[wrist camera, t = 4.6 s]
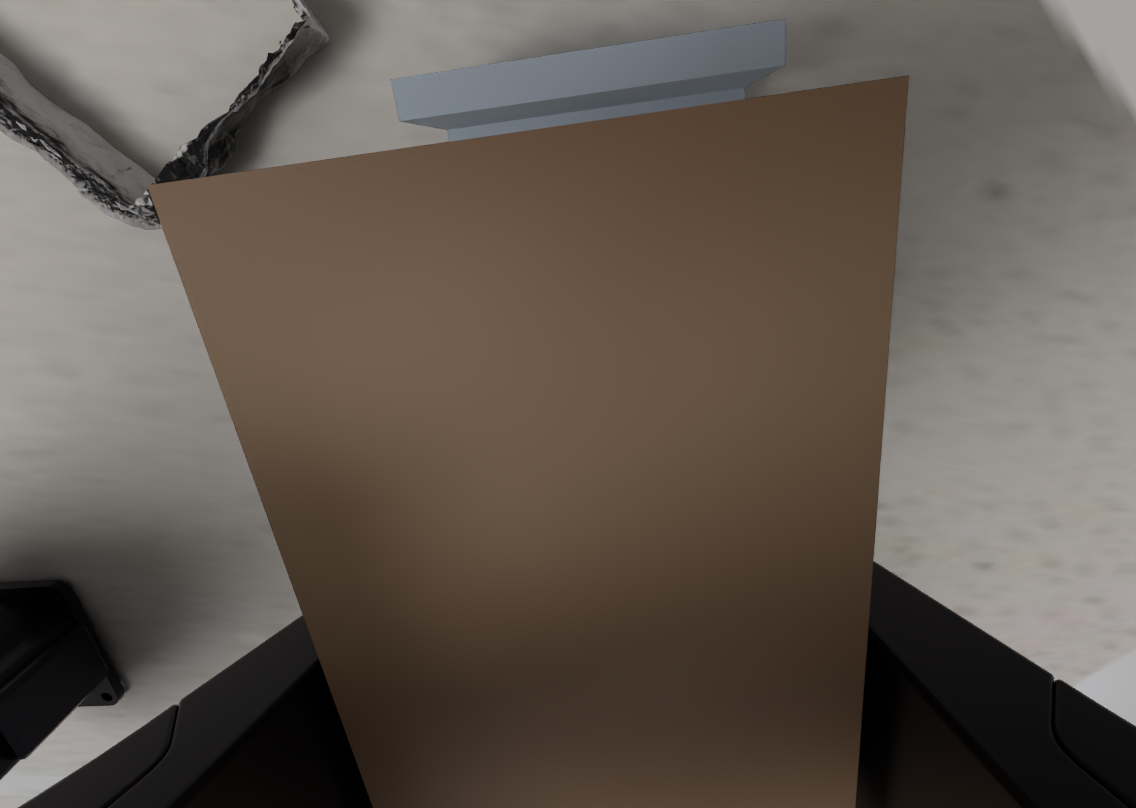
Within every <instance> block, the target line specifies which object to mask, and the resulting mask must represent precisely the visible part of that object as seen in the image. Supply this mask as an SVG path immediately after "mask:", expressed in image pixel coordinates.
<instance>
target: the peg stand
mask: <svg viewBox="0 0 1136 808" xmlns="http://www.w3.org/2000/svg"><path fill="white" fill-rule="evenodd" d="M783 66H785V19H780V20H774V21H767V22H761V23H754V24H748V25H741V26H735V27H728V28H722V29H715V30H709V31H702V32H696V33H689V34H683V35H676V36H670V37H663V38H657V39H650V40H644V41H637V42H631V43H624V44H618V45H611V46H605V47H598V48H592V49H585V50H579V51H572V52H566V53H559V54H553V55H546V56H540V57H533V58H527V59H520V60H514V61H507V62H501V63H494V64H488V65H481V66H475V67H468V68H462V69H455V70H449V71H442V72H436V73H429V74H423V75H416V76H410V77H403V78H397V79H391V83H392V88H393V93H394V98H395V103H396V107H397V112H398V117H399V121H400V122H406V123H411V124H417V125H423V126H428V127H434V128H439V129H445V130H447V131H448V137H449V142H451V141H458V140H465V139H472V138H479V137H486V136H493V135H500V134H506V133H513V132H520V131H527V130H534V129H541V128H548V127H555V126H562V125H569V124H576V123H583V122H590V121H596V120H603V119H610V118H617V117H624V116H631V115H638V114H645V113H652V112H659V111H666V110H673V109H680V108H687V107H693V106H700V105H707V104H714V103H721V102H728V101H735V100H742V99H745V87H747V86H748V85H750V84H752V83H754V82H756V81H757V80H759V79H761V78H763V77H765V76H766V75H768V74H770V73H772V72H774V71H776V70H777V69H779V68H781V67H783Z"/></svg>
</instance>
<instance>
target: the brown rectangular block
mask: <svg viewBox="0 0 1136 808" xmlns="http://www.w3.org/2000/svg"><path fill="white" fill-rule="evenodd" d="M908 79H909V75H908V76H901V77H894V78H887V79H880V80H873V81H867V82H860V83H853V84H846V85H839V86H832V87H825V88H818V89H811V90H804V91H797V92H790V93H783V94H777V95H770V96H763V97H756V98H749V99H742V100H735V101H728V102H721V103H714V104H707V105H700V106H693V107H687V108H680V109H673V110H666V111H659V112H652V113H645V114H638V115H631V116H624V117H617V118H610V119H603V120H596V121H590V122H583V123H576V124H569V125H562V126H555V127H548V128H541V129H534V130H527V131H520V132H513V133H506V134H500V135H493V136H486V137H479V138H472V139H465V140H458V141H451V142H444V143H437V144H430V145H423V146H416V147H410V148H403V149H396V150H389V151H382V152H375V153H368V154H361V155H354V156H347V157H340V158H333V159H326V160H320V161H313V162H306V163H299V164H292V165H285V166H278V167H271V168H264V169H257V170H250V171H243V172H236V173H230V174H223V175H216V176H209V177H202V178H195V179H188V180H181V181H174V182H167V183H160V184H153V185H147V187H148V189H149V192H150V195H151V198H152V200H153V203H154V206H155V209H156V211H157V214H158V217H159V220H160V222H161V225H162V228H163V231H164V233H165V236H166V239H167V242H168V244H169V247H170V250H171V253H172V255H173V258H174V261H175V264H176V266H177V269H178V272H179V275H180V277H181V280H182V283H183V286H184V288H185V291H186V294H187V297H188V300H189V302H190V305H191V308H192V311H193V313H194V316H195V319H196V322H197V324H198V327H199V330H200V333H201V335H202V338H203V341H204V344H205V346H206V349H207V352H208V355H209V357H210V360H211V363H212V366H213V368H214V371H215V374H216V377H217V379H218V382H219V385H220V388H221V390H222V393H223V396H224V399H225V401H226V404H227V407H228V410H229V412H230V415H231V418H232V421H233V423H234V426H235V429H236V432H237V435H238V437H239V440H240V443H241V446H242V448H243V451H244V454H245V457H246V459H247V462H248V465H249V468H250V470H251V473H252V476H253V479H254V481H255V484H256V487H257V490H258V492H259V495H260V498H261V501H262V503H263V506H264V509H265V512H266V514H267V517H268V520H269V523H270V525H271V528H272V531H273V534H274V536H275V539H276V542H277V545H278V547H279V550H280V553H281V556H282V559H283V561H284V564H285V567H286V570H287V572H288V575H289V578H290V581H291V583H292V586H293V589H294V592H295V594H296V597H297V600H298V603H299V605H300V608H301V611H302V614H303V616H304V619H305V622H306V625H307V627H308V630H309V633H310V636H311V638H312V641H313V644H314V647H315V649H316V652H317V655H318V658H319V660H320V663H321V666H322V669H323V671H324V674H325V677H326V680H327V683H328V685H329V688H330V691H331V694H332V696H333V699H334V702H335V705H336V707H337V710H338V713H339V716H340V718H341V721H342V724H343V727H344V729H345V732H346V735H347V738H348V740H349V743H350V746H351V749H352V751H353V754H354V757H355V760H356V762H357V765H358V768H359V771H360V773H361V776H362V779H363V782H364V784H365V787H366V790H367V793H368V795H369V798H370V801H371V804H372V806H373V808H855V804H856V790H857V776H858V763H859V749H860V735H861V722H862V708H863V694H864V681H865V667H866V653H867V640H868V626H869V612H870V599H871V585H872V571H873V558H874V544H875V530H876V517H877V503H878V489H879V476H880V462H881V448H882V435H883V421H884V407H885V394H886V380H887V366H888V353H889V339H890V325H891V312H892V298H893V284H894V271H895V257H896V243H897V230H898V216H899V202H900V189H901V175H902V161H903V148H904V134H905V120H906V107H907V93H908Z"/></svg>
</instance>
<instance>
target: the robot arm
mask: <svg viewBox="0 0 1136 808" xmlns="http://www.w3.org/2000/svg"><path fill="white" fill-rule="evenodd" d="M124 693H125V692H124V689H123V687H122V685H121V683H120V681H119V679H118V677H117V675H116V673H115V671H114V669H113V667H112V665H111V664H110V662H109V660H108V658H107V656H106V654H105V652H104V650H103V648H102V646H101V644H100V642H99V641H98V639H97V637H96V635H95V633H94V631H93V629H92V627H91V625H90V623H89V621H88V619H87V617H86V616H85V614H84V612H83V610H82V608H81V606H80V604H79V602H78V600H77V598H76V596H75V594H74V592H73V591H72V589H71V587H70V586H69V585H68V584H66V583H65V582H63V581H60V580H48V581H32V582H15V583H0V780H1V779H2V778H3V777H4V776H5V775H6V774H7V773H8V772H9V771H10V770H11V769H12V768H13V767H14V766H15V765H16V764H17V763H18V762H19V761H20V760H21V759H25V758H27V757H28V756H29V755H30V754H31V753H32V752H33V751H34V750H35V749H36V748H37V747H38V746H39V745H40V744H41V743H42V742H43V741H44V740H45V739H46V738H47V737H48V736H49V735H50V734H51V733H52V732H53V731H54V730H55V729H56V728H57V727H58V726H59V725H60V724H61V723H62V722H63V721H64V720H65V719H66V718H67V717H68V716H69V715H70V714H71V713H72V712H73V711H74V710H75V709H76V708H77V707H80V706H109V705H115V704H116V703H117V702H118V701H119V700H120V699H121V698H122V697H123V696H124ZM18 808H373V806H372V804H371V801H370V798H369V795H368V793H367V790H366V787H365V784H364V782H363V779H362V776H361V773H360V771H359V768H358V765H357V762H356V760H355V757H354V754H353V751H352V749H351V746H350V743H349V740H348V738H347V735H346V732H345V729H344V727H343V724H342V721H341V718H340V716H339V713H338V710H337V707H336V705H335V702H334V699H333V696H332V694H331V691H330V688H329V685H328V683H327V680H326V677H325V674H324V671H323V669H322V666H321V663H320V660H319V658H318V655H317V652H316V649H315V647H314V644H313V641H312V638H311V636H310V633H309V630H308V627H307V625H306V622H305V619H304V616H303V615H302V616H301V617H299V618H298V619H296V620H295V621H294V622H292V623H291V624H289V625H288V626H286V627H285V628H284V629H282V630H281V631H279V632H278V633H276V634H275V635H273V636H272V637H271V638H269V639H268V640H266V641H265V642H263V643H262V644H261V645H259V646H258V647H256V648H255V649H253V650H252V651H250V652H249V653H248V654H246V655H245V656H243V657H242V658H240V659H239V660H238V661H236V662H235V663H233V664H232V665H230V666H229V667H228V668H226V669H225V670H223V671H222V672H220V673H219V674H217V675H216V676H215V677H213V678H212V679H210V680H209V681H207V682H206V683H205V684H203V685H202V686H200V687H199V688H197V689H196V690H194V691H193V692H192V693H190V694H189V695H187V696H186V697H184V698H183V699H182V700H181V701H180V703H179V706H178V705H173V706H171V707H170V708H168V709H167V710H165V711H164V712H163V713H161V714H160V715H158V716H157V717H156V718H154V719H153V720H151V721H150V722H148V723H147V724H146V725H144V726H143V727H141V728H140V729H138V730H137V731H135V732H134V733H132V734H131V735H129V736H128V737H126V738H125V739H123V740H122V741H120V742H119V743H118V744H116V745H115V746H113V747H112V748H110V749H109V750H107V751H106V752H104V753H103V754H101V755H100V756H98V757H97V758H95V759H94V760H92V761H91V762H89V763H88V764H86V765H84V766H83V767H81V768H80V769H78V770H77V771H75V772H73V773H72V774H70V775H69V776H67V777H66V778H64V779H62V780H61V781H59V782H58V783H56V784H55V785H53V786H52V787H50V788H48V789H47V790H45V791H44V792H42V793H41V794H39V795H37V796H36V797H34V798H33V799H31V800H29V801H28V802H26V803H25V804H23V805H21V806H20V807H18ZM855 808H1136V726H1134V725H1133V724H1131V723H1129V722H1128V721H1126V720H1125V719H1123V718H1121V717H1119V716H1118V715H1116V714H1115V713H1113V712H1111V711H1110V710H1108V709H1107V708H1105V707H1103V706H1102V705H1100V704H1098V703H1097V702H1095V701H1094V700H1092V699H1090V698H1089V697H1087V696H1086V695H1084V694H1083V693H1081V692H1079V691H1078V690H1076V689H1075V688H1073V687H1072V686H1070V685H1068V684H1067V683H1065V682H1064V681H1062V680H1056V681H1055V682H1054V677H1053V675H1052V674H1051V673H1049V672H1048V671H1046V670H1044V669H1043V668H1041V667H1040V666H1038V665H1036V664H1035V663H1033V662H1032V661H1030V660H1029V659H1027V658H1025V657H1024V656H1022V655H1021V654H1019V653H1018V652H1016V651H1014V650H1013V649H1011V648H1010V647H1008V646H1007V645H1005V644H1003V643H1002V642H1000V641H999V640H997V639H996V638H994V637H992V636H991V635H989V634H988V633H986V632H985V631H983V630H981V629H980V628H978V627H977V626H975V625H974V624H972V623H970V622H969V621H967V620H966V619H964V618H963V617H961V616H959V615H958V614H956V613H955V612H953V611H951V610H950V609H948V608H947V607H945V606H944V605H942V604H940V603H939V602H937V601H936V600H934V599H933V598H931V597H929V596H928V595H926V594H925V593H923V592H922V591H920V590H918V589H917V588H915V587H914V586H912V585H911V584H909V583H907V582H906V581H904V580H903V579H901V578H900V577H898V576H896V575H895V574H893V573H892V572H890V571H889V570H887V569H885V568H884V567H882V566H881V565H879V564H878V563H876V562H874V561H873V571H872V585H871V599H870V612H869V626H868V640H867V653H866V667H865V681H864V694H863V708H862V722H861V735H860V749H859V763H858V776H857V790H856V804H855Z"/></svg>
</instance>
